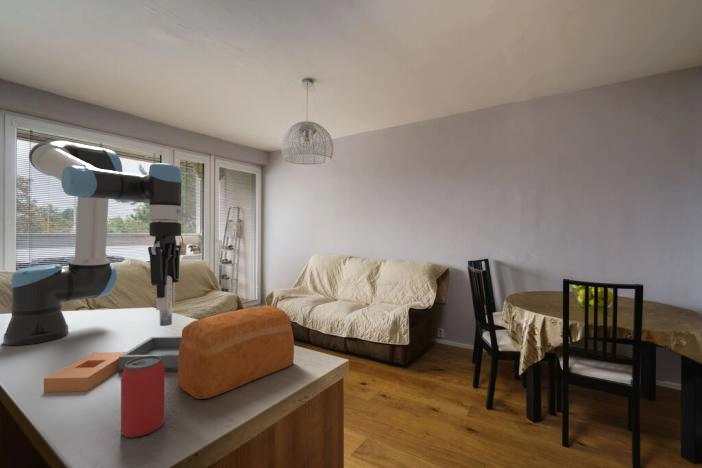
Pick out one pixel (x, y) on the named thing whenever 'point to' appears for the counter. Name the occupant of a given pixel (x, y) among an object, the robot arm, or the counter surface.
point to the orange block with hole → (84, 373)
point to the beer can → (142, 396)
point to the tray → (155, 352)
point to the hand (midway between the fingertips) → (165, 307)
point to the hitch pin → (167, 314)
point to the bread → (233, 350)
